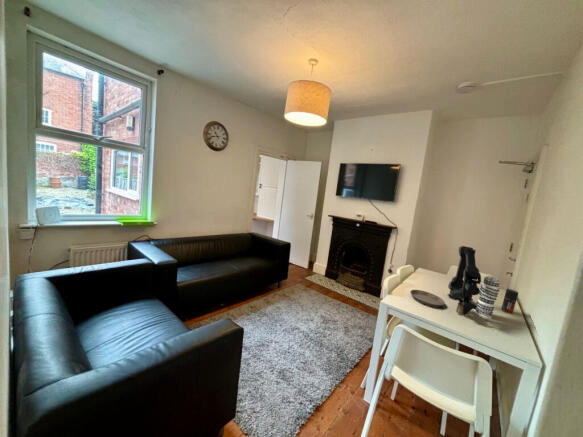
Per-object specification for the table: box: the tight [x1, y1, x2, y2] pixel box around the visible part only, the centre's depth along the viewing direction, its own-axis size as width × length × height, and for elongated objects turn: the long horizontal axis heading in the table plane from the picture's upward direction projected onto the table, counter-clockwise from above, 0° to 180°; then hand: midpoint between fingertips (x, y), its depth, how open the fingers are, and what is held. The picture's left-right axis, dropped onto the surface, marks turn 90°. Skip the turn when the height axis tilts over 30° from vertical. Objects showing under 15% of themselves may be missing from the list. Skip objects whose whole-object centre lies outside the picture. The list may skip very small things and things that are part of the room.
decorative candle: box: [474, 275, 501, 319], centre depth 146 cm, size 9×9×25 cm
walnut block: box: [455, 302, 470, 318], centre depth 144 cm, size 5×5×6 cm
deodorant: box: [500, 288, 519, 315], centre depth 155 cm, size 6×6×15 cm
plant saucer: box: [409, 289, 445, 308], centre depth 157 cm, size 21×21×3 cm
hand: (462, 312), depth 144 cm, fingers open, 6 cm apart
